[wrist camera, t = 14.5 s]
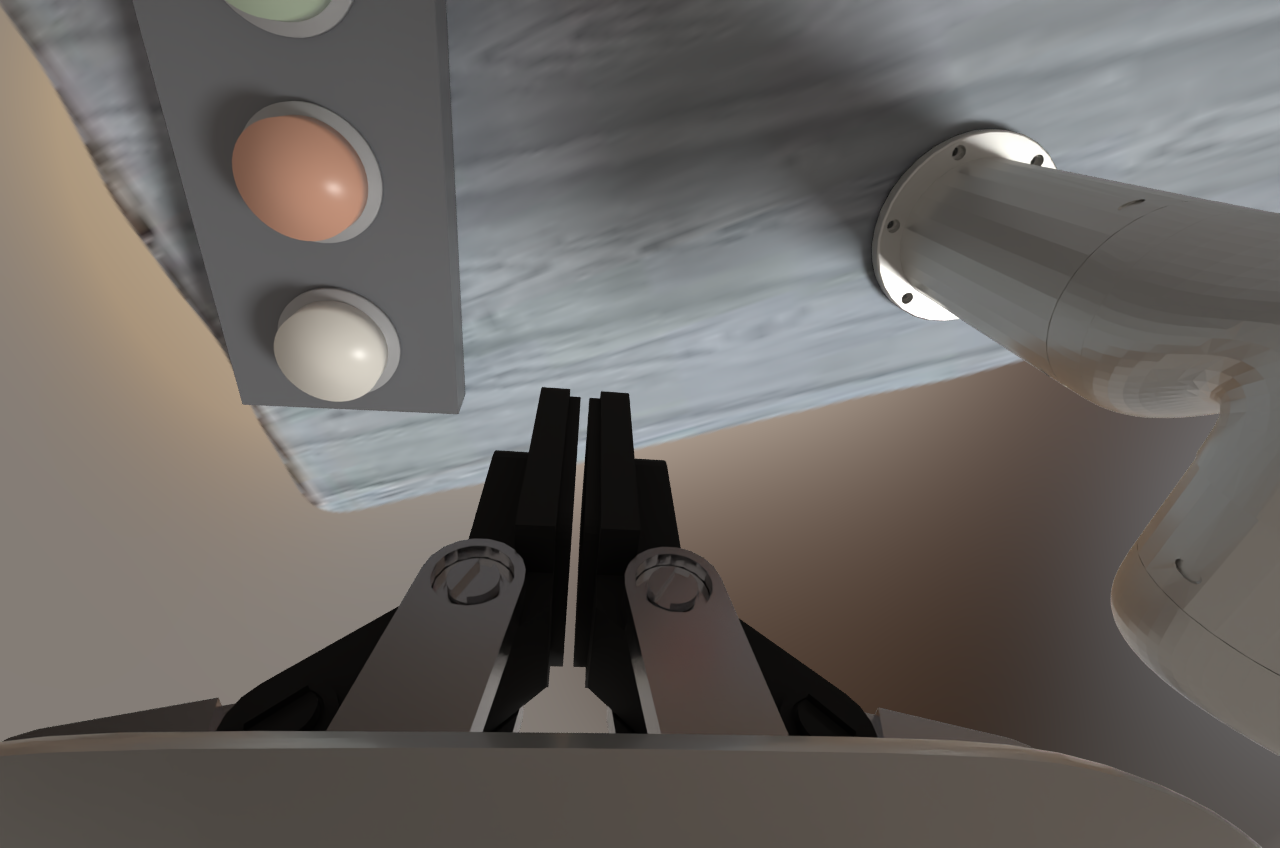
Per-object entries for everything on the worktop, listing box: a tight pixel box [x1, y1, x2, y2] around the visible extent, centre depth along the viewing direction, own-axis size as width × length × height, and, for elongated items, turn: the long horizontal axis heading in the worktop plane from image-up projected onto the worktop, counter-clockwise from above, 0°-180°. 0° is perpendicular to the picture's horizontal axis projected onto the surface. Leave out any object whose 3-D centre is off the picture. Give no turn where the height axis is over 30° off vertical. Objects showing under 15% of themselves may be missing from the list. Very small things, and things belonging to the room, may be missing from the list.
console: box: [132, 0, 465, 414], centre depth 33 cm, size 14×30×4 cm, turn 174°
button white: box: [274, 301, 388, 402], centre depth 36 cm, size 6×6×2 cm
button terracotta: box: [232, 115, 368, 241], centre depth 31 cm, size 6×6×2 cm
